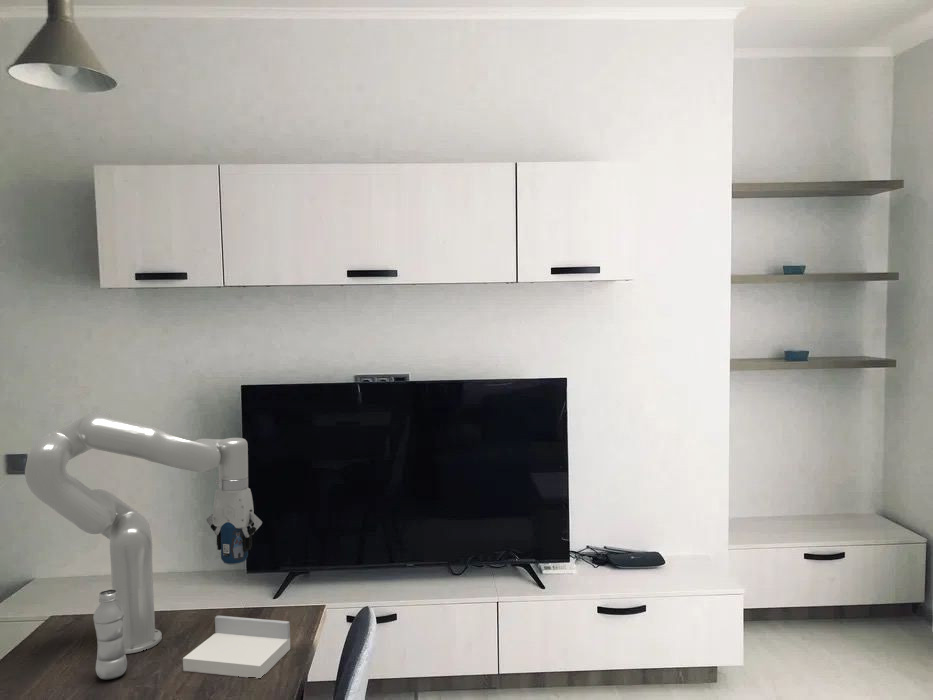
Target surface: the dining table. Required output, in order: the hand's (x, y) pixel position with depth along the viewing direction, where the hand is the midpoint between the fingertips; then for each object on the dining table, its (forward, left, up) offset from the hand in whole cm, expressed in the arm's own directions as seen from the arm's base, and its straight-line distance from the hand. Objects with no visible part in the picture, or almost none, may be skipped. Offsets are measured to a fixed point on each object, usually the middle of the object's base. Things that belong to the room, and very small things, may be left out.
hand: (234, 549), depth 194 cm
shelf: (+11, -19, -21) cm, 30 cm away
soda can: (0, 0, -4) cm, 4 cm away
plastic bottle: (-14, -32, -21) cm, 40 cm away
